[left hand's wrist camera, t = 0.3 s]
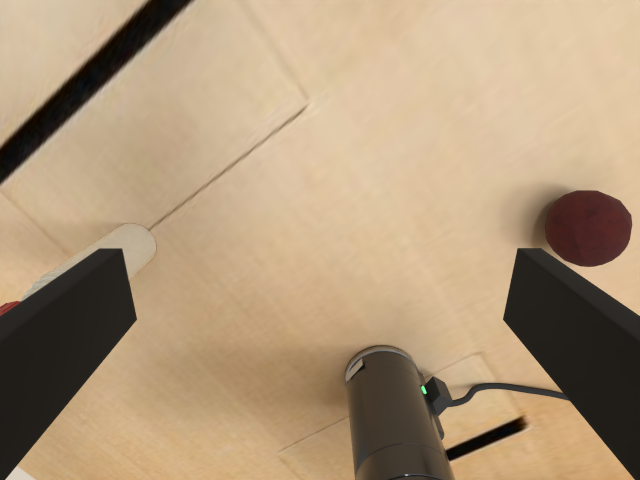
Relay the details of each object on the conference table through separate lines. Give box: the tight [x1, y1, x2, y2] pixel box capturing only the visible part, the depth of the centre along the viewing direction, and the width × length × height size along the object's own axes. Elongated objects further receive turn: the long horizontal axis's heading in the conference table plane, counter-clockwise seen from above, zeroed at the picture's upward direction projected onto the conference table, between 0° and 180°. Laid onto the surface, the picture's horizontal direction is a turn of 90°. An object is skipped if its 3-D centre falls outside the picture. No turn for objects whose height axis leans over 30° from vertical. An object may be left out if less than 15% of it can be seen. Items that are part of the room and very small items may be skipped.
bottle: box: [21, 223, 156, 301], centre depth 34 cm, size 5×5×18 cm
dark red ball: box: [545, 191, 632, 267], centre depth 38 cm, size 7×8×7 cm
